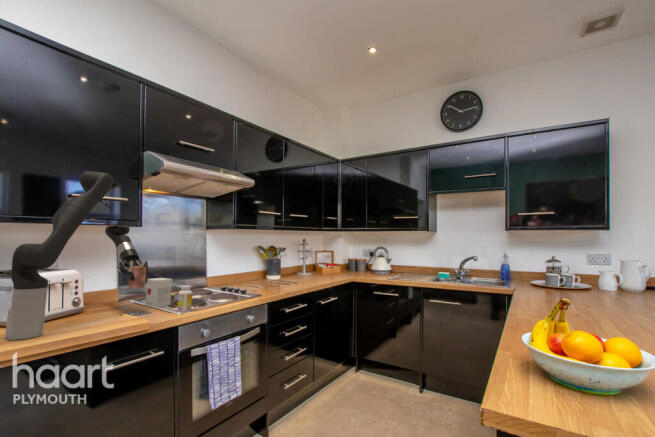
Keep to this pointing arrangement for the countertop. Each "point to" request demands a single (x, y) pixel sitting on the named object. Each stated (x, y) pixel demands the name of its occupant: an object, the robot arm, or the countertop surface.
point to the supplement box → (158, 292)
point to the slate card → (137, 313)
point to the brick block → (138, 277)
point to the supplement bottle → (184, 299)
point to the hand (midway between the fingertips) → (139, 279)
